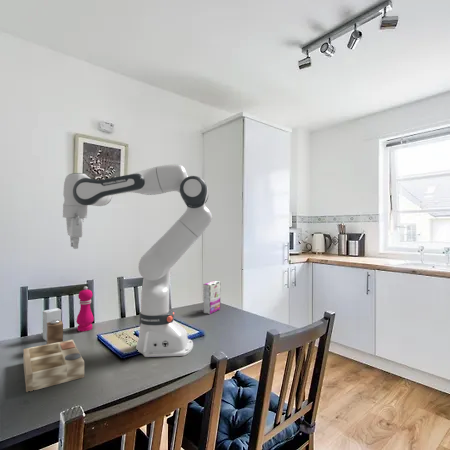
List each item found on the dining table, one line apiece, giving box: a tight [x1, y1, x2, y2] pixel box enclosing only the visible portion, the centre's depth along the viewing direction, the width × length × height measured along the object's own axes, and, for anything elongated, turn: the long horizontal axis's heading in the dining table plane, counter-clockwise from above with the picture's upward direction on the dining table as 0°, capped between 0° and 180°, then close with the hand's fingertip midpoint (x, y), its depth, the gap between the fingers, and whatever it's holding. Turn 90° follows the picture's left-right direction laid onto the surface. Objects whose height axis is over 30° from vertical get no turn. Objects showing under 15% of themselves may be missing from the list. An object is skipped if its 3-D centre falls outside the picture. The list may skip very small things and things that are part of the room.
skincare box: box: [42, 307, 62, 342], centre depth 128 cm, size 6×4×12 cm
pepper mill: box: [76, 285, 95, 332], centre depth 139 cm, size 7×7×20 cm
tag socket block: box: [22, 339, 85, 393], centre depth 100 cm, size 16×22×5 cm
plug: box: [46, 320, 64, 345], centre depth 117 cm, size 5×5×11 cm
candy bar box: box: [202, 280, 221, 315], centre depth 171 cm, size 11×5×16 cm, turn 149°
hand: (74, 247), depth 121 cm, fingers open, 8 cm apart
